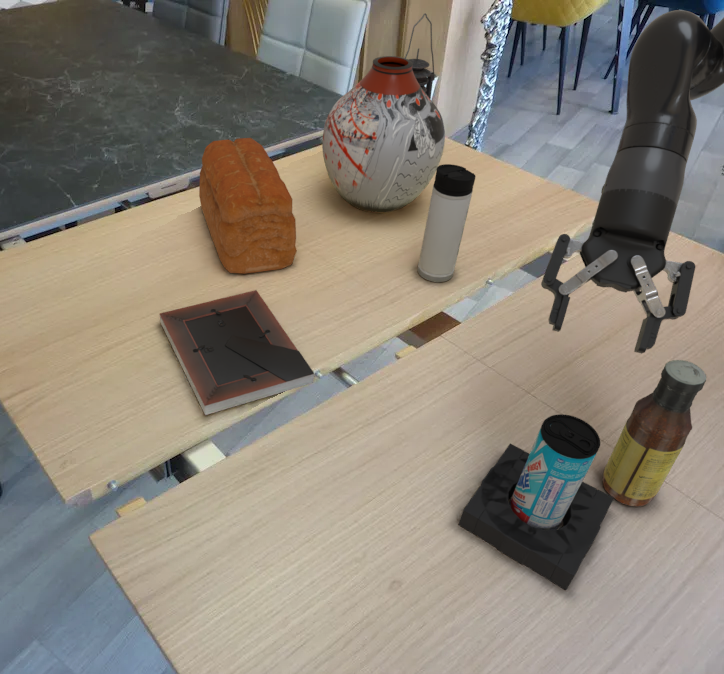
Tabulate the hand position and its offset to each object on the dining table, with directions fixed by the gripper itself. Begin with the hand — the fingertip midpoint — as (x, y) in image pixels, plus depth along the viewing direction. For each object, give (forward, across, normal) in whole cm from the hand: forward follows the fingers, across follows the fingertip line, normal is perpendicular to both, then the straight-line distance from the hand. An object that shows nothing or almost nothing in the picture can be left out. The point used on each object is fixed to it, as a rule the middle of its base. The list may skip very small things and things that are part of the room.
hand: (597, 341), depth 72 cm
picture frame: (+13, -46, +17) cm, 50 cm away
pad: (+21, 0, +8) cm, 23 cm away
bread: (-9, -59, +39) cm, 71 cm away
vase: (-25, -40, +55) cm, 73 cm away
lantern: (-44, -42, +74) cm, 95 cm away
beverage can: (+21, 0, +9) cm, 23 cm away
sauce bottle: (+15, +10, +15) cm, 23 cm away
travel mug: (-11, -23, +41) cm, 48 cm away
